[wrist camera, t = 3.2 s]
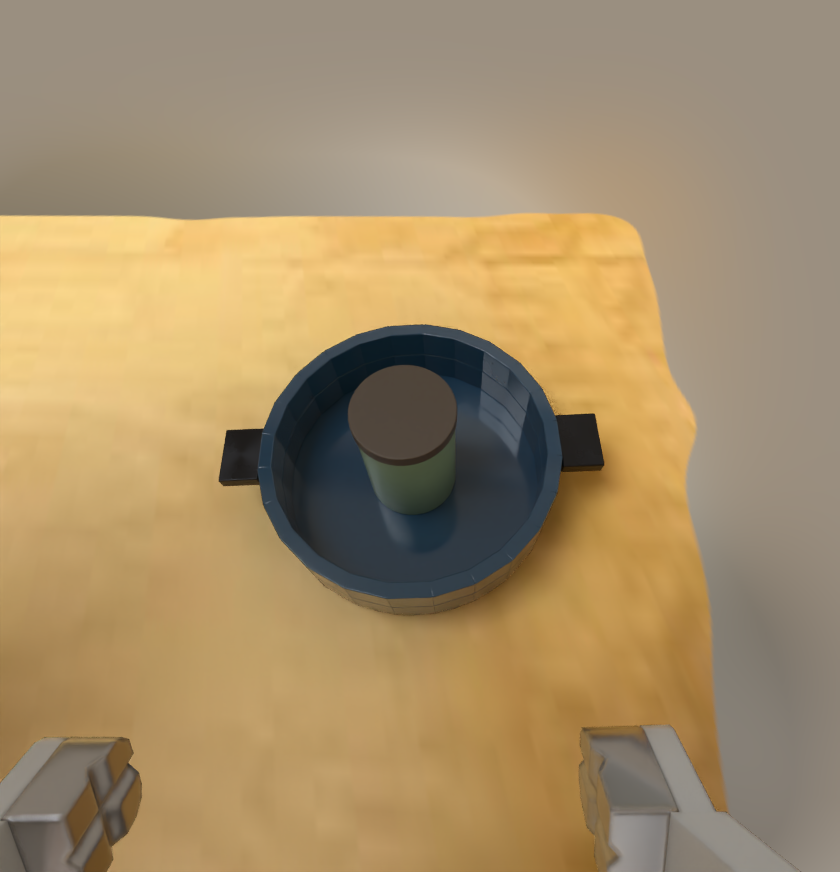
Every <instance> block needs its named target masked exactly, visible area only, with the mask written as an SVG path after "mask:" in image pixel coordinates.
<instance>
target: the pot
mask: <svg viewBox="0 0 840 872" xmlns="http://www.w3.org/2000/svg"><path fill="white" fill-rule="evenodd" d="M397 365H412V366H418V367H422V368H425V369H428V370H430V371H432V372H434V373H436V374H437V375H439V376H440V377H441V378H442V379H443V380H444V381H445V382H446V383H447V384H448V385H449V387H450V388H451V390H452V392H453V394H454V396H455V399H456V403H457V424H456V428H455V483H454V486H453V489H452V491H451V493H450V495H449V496H448V498H447V499H446V500H445V501H444V502H443V503H442V504H441V505H440V506H438V507H437V508H435V509H433V510H431V511H429V512H426V513H423V514H417V515H407V514H401V513H398V512H395V511H393V510H391V509H389V508H388V507H386V506H385V505H384V504H383V503H382V502H381V501H380V500H379V499H378V497H377V496H376V494H375V492H374V490H373V487H372V484H371V481H370V478H369V475H368V472H367V470H366V467H365V464H364V461H363V458H362V455H361V452H360V450H359V447H358V445H357V444H356V442H355V440H354V438H353V436H352V433H351V430H350V427H349V423H348V407H349V403H350V400H351V398H352V395H353V394H354V392H355V390H356V389H357V387H358V386H359V385H360V384H361V383H362V382H363V381H364V380H365V379H366V378H368V377H369V376H370V375H372V374H373V373H375V372H377V371H379V370H382V369H384V368H387V367H392V366H397ZM562 459H563V456H562V448H561V442H560V435H559V429H558V422H557V419H556V417H555V415H554V412H553V410H552V408H551V406H550V404H549V402H548V400H547V398H546V395H545V393H544V391H543V389H542V388H541V386H540V385H539V384H538V383H537V382H536V381H535V379H534V378H533V377H532V376H531V375H530V374H529V372H528V371H527V370H526V369H525V368H524V367H523V366H522V364H521V363H519V362H518V361H517V360H515V359H514V358H513V357H511V356H510V355H508V354H507V353H505V352H504V351H502V350H501V349H500V348H498V347H497V346H495V345H494V344H492V343H491V342H489V341H487V340H484V339H482V338H479V337H476V336H474V335H471V334H469V333H466V332H464V331H461V330H458V329H451V328H445V327H439V326H432V325H426V324H425V325H423V324H421V325H402V326H390V327H389V326H387V327H383V328H379V329H376V330H372V331H368V332H364V333H361V334H357V335H355V336H353V337H351V338H349V339H347V340H345V341H343V342H341V343H339V344H337V345H335V346H333V347H331V348H329V349H327V350H325V351H324V352H322V353H321V354H320V355H319V356H317V357H316V358H315V359H314V360H313V361H311V362H310V363H309V364H308V365H306V366H305V367H304V368H303V369H302V370H300V371H299V372H298V373H297V374H296V375H295V376H294V378H293V379H292V380H291V382H290V383H289V384H288V386H287V387H286V388H285V390H284V391H283V392H282V393H281V395H280V396H279V397H278V399H277V400H276V402H275V403H274V406H273V408H272V410H271V413H270V415H269V417H268V420H267V422H266V425H265V427H264V429H263V432H262V437H261V445H260V453H259V460H258V469H257V471H258V477H259V483H260V489H261V496H262V502H263V505H264V508H265V510H266V512H267V514H268V516H269V518H270V520H271V522H272V524H273V526H274V528H275V530H276V532H277V534H278V536H279V538H280V540H281V541H282V542H283V543H284V544H285V545H286V546H287V547H288V548H289V549H290V550H291V551H292V552H293V553H294V555H295V556H296V557H297V558H298V559H299V560H300V561H301V562H302V563H303V564H304V565H305V566H306V567H307V568H308V569H309V570H310V571H311V572H312V574H313V575H314V576H315V577H316V578H317V579H318V580H319V581H320V582H321V583H322V584H323V585H324V586H325V587H327V588H328V589H330V590H332V591H334V592H335V593H337V594H338V595H340V596H341V597H343V598H345V599H347V600H349V601H351V602H353V603H354V604H357V605H358V606H362V607H366V608H370V609H373V610H376V611H380V612H386V613H391V614H397V615H399V614H403V615H420V614H432V613H438V612H442V611H446V610H450V609H454V608H457V607H460V606H462V605H465V604H467V603H470V602H473V601H475V600H477V599H478V598H480V597H482V596H483V595H485V594H487V593H489V592H490V591H492V590H493V589H494V588H496V587H497V586H498V585H500V584H501V583H503V582H504V581H505V580H506V579H508V578H509V577H510V575H511V574H512V573H513V572H514V571H515V570H516V569H517V568H518V567H519V566H520V564H521V563H522V562H523V561H524V559H525V558H526V557H527V556H528V555H529V554H530V552H531V551H532V549H533V547H534V545H535V542H536V540H537V538H538V536H539V534H540V532H541V530H542V528H543V525H544V523H545V521H546V519H547V516H548V514H549V512H550V510H551V507H552V505H553V503H554V500H555V498H556V496H557V493H558V487H559V480H560V473H561V466H562Z"/></svg>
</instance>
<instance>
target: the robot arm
mask: <svg viewBox="0 0 840 872" xmlns="http://www.w3.org/2000/svg"><path fill="white" fill-rule="evenodd" d="M580 748H581V752H582V756H583V759H584V760H583V761H582V762H581V763H580V764H579V787H580V798H581V803H582V809H583V814H584V818H585V822H586V826H587V828H588V830H589V831H590V832H591V833H592V834H593V835H594V836H595V847H594V857H595V860H596V864H597V868H598V871H599V872H801V871H799V870H798V869H797V868H796V867H794V866H793V865H792V864H791V863H789V862H788V861H787V860H786V859H784V858H783V857H782V856H781V855H779V854H778V853H777V852H776V851H774V850H773V849H772V848H771V847H769V846H768V845H767V844H766V843H764V842H763V841H762V840H761V839H759V838H758V837H757V836H756V835H754V834H753V833H752V832H751V831H749V830H748V829H747V828H746V827H744V826H743V825H742V824H740V823H739V822H738V821H737V820H735V819H734V818H733V817H732V816H730V815H729V814H728V813H727V812H716V810H715V808H714V806H713V804H712V802H711V800H710V798H709V796H708V794H707V792H706V790H705V788H704V787H703V785H702V783H701V781H700V779H699V777H698V775H697V773H696V771H695V769H694V767H693V765H692V763H691V761H690V759H689V757H688V755H687V753H686V751H685V749H684V747H683V745H682V743H681V741H680V739H679V738H678V736H677V734H676V732H675V730H674V729H673V728H672V727H671V726H670V725H640V726H608V727H582V728H581V732H580ZM133 754H134V752H133V749H132V746H131V743H130V740H129V739H127V738H123V737H44V738H42V739H41V740H39V741H37V742H35V743H34V744H33V745H32V746H31V748H30V749H29V750H28V751H27V752H26V753H25V755H24V756H23V757H22V758H21V759H20V760H19V762H18V763H17V764H16V765H15V766H14V767H13V769H12V770H11V771H10V772H9V773H8V775H7V776H6V777H5V778H4V779H3V780H2V782H1V783H0V872H107V870H108V868H109V867H110V865H111V863H112V861H113V853H112V846H113V845H114V844H115V843H117V842H118V841H119V840H120V839H121V838H123V837H124V836H125V835H126V834H128V832H129V830H130V828H131V826H132V824H133V822H134V820H135V818H136V817H137V813H138V809H139V805H140V802H141V798H142V783H141V779H140V775H139V772H138V771H137V770H135V769H134V768H133V767H132V766H131V765H130V764H129V763H128V762H129V761H130V759H131V757H132V755H133Z"/></svg>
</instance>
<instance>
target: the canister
mask: <svg viewBox="0 0 840 872" xmlns="http://www.w3.org/2000/svg"><path fill="white" fill-rule="evenodd" d="M348 423H349V427H350V430H351V433H352V436H353V438H354V440H355V442H356V444H357V445H358V447H359V450H360V452H361V455H362V458H363V461H364V464H365V467H366V470H367V472H368V475H369V478H370V481H371V484H372V487H373V490H374V492H375V494H376V496H377V497H378V499H379V500H380V501H381V502H382V503H383V504H384V505H385V506H386V507H388V508H389V509H391V510H393V511H395V512H398V513H401V514H407V515H417V514H423V513H426V512H429V511H431V510H433V509H435V508H437V507H438V506H440V505H441V504H442V503H443V502H444V501H445V500H446V499H447V498H448V496H449V495H450V493H451V491H452V489H453V486H454V483H455V428H456V424H457V403H456V399H455V396H454V394H453V392H452V390H451V388H450V387H449V385H448V384H447V383H446V382H445V381H444V380H443V379H442V378H441V377H440V376H439V375H437V374H436V373H434V372H432V371H430V370H428V369H425V368H422V367H418V366H412V365H397V366H392V367H387V368H384V369H382V370H379V371H377V372H375V373H373V374H372V375H370V376H369V377H368V378H366V379H365V380H364V381H363V382H362V383H361V384H360V385H359V386H358V387H357V389H356V390H355V392H354V394H353V395H352V398H351V400H350V403H349V407H348Z"/></svg>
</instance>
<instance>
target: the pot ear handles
mask: <svg viewBox="0 0 840 872" xmlns="http://www.w3.org/2000/svg"><path fill="white" fill-rule="evenodd" d="M556 419H557V422H558V429H559V435H560V442H561V448H562V456H563V459H562V466H561V472H575V471H600V470H602V468H603V466H604V459H603V454H602V449H601V444H600V438H599V433H598V428H597V423H596V418H595V414H574V415H556ZM262 432H263V429H243V430H227V431H226V438H225V444H224V450H223V456H222V462H221V469H220V475H219V482H220V483H221V484H222V485H223V486H240V485H260V483H259V477H258V471H257V469H258V460H259V453H260V445H261V437H262Z"/></svg>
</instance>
